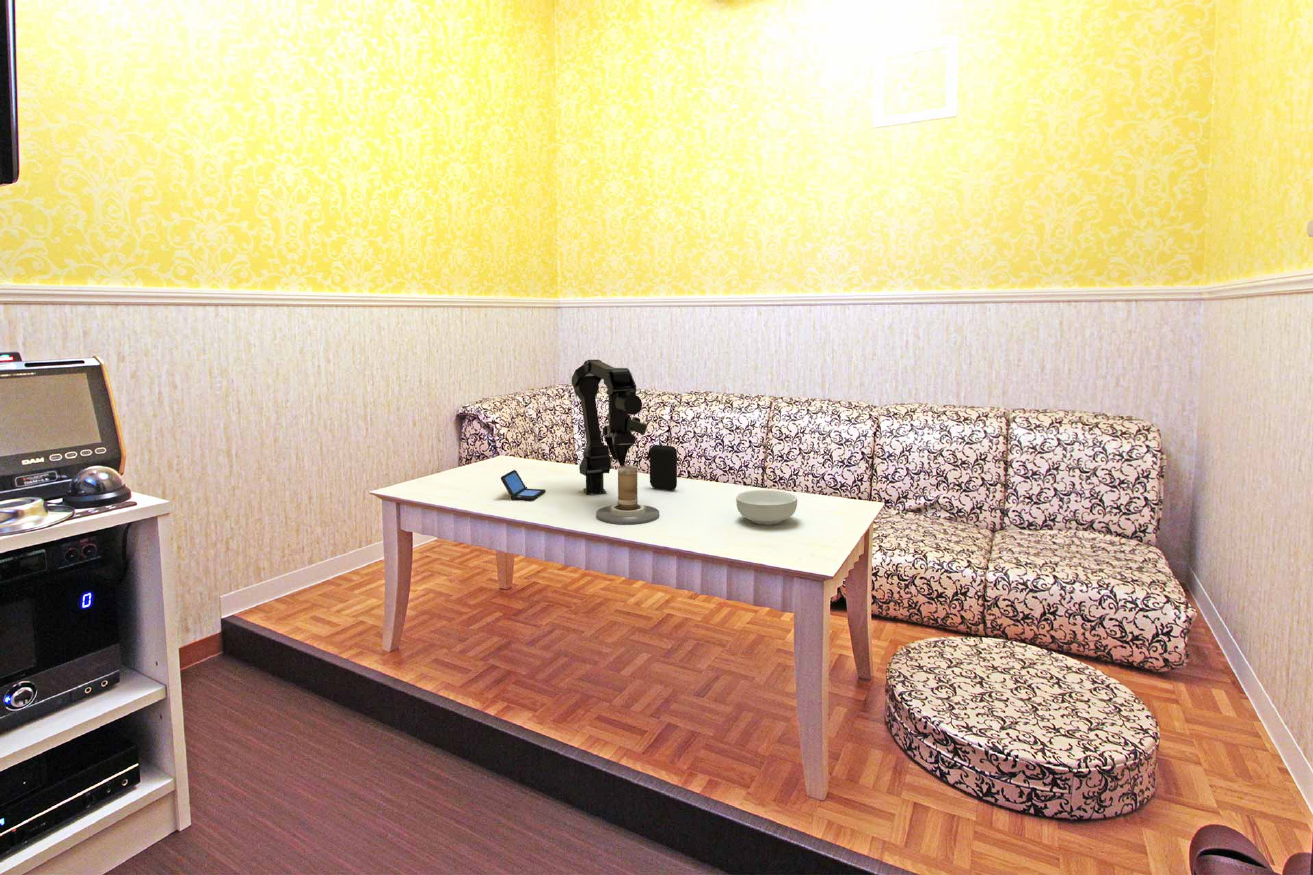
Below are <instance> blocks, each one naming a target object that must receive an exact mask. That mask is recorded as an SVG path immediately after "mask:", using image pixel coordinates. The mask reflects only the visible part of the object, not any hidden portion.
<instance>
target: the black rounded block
mask: <svg viewBox="0 0 1313 875" xmlns="http://www.w3.org/2000/svg"><path fill="white" fill-rule="evenodd" d="M646 457H647V459H649V484H650V486H651V487H652V488H653V489H655V490H662V489H663V490H665V491H670V492H672V491H674V490H676V489H677V487H678V486H677V485H678V451H677V448H675V446H672V445H663V444H654V445H652V446H651V447H649V450H648V453H647V456H646ZM663 490H662V491H663Z"/></svg>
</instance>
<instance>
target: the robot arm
mask: <svg viewBox="0 0 1313 875" xmlns="http://www.w3.org/2000/svg"><path fill="white" fill-rule="evenodd" d="M602 380H603V385H605V387H606V388H607V391H606V393H605V394H606V395H607V399H608V404H607V405H608V406H607V407H608V408H607V409H608V413H607V415H606V417H607V418H608V425H607V424H605V425H604V426H603V427H602V434H601V428H600V421H599V413H598V408H597V400H596V397H597V394H598V392H599V390H600V383H601V381H602ZM571 385H572V387H573V390H574V391H573V392H574V394H575V396H576V397H577V398H578V399H579V400H580V404H581V413H582V419H583V425H584V433H585V439H586V444H585V447H584V450H583V451H582V460H581V462H580V464H579V466H578V468H579V474H581V475H583V476H585V487H584V488H583V492H584V493H585V494H586V495H599V494H600V495H601V494H607V490H605V488H604V484H605V483H604V481H605V480H604V474H610V471H611V465H612V459H613V460H614V461H618V464H619V467H620V466H625V463H626V458H627V455H628V451H629V449H631V447H632V446H634V445H635V444H636V436H635V434H633V433H632V432H635V433H638V434H640V435H642V436H645V435H646V431H647V427H648V425H647V424H646V423H644V422H641V419H640V418H639V417H636V416H635V415H638V414H639V413H640V412H641V410H642V409H643V401H642V398H640V396H639V395H637V384H636V382H635V380H634V378H633V374H632V372H631V370H630V369H629V368H627V367H614V366H612V365H611V364H607V363H606V362H603V361H602V360H601V359H587V360H585V361H584V362H583V364H581V366H579V367H578V368H576V369H575V371H574V372H573V374H572V376H571ZM631 415H632V416H633V418H631ZM602 435H603V439H604V441H605V443H606V445H605V444H604V442H603V441H602ZM610 454H611V455H610ZM611 457H612V458H611Z"/></svg>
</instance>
